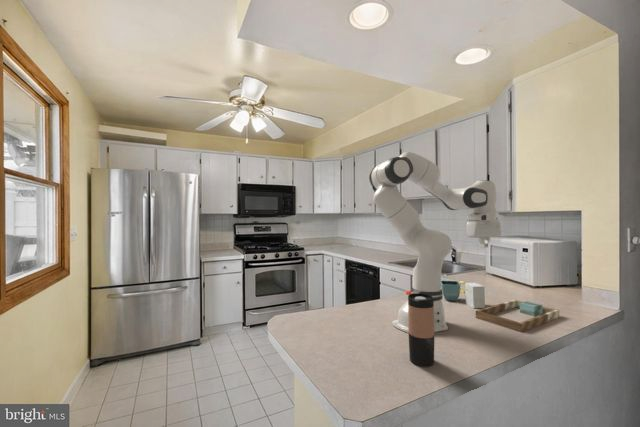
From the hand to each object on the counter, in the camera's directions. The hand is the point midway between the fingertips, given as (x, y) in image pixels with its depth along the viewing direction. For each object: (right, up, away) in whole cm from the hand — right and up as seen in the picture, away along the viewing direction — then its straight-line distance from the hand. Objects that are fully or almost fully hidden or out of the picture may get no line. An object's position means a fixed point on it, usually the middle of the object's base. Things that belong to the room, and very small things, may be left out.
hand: (484, 247), depth 131 cm
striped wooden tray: (+12, -30, -5) cm, 32 cm away
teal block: (+21, -30, 0) cm, 36 cm away
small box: (+2, -30, +12) cm, 32 cm away
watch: (+8, -30, +37) cm, 48 cm away
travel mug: (-42, -31, -41) cm, 66 cm away
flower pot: (-5, -30, +22) cm, 38 cm away
